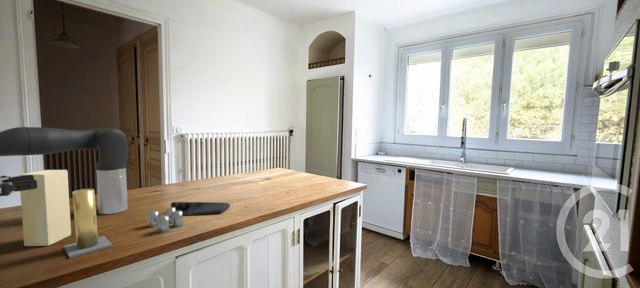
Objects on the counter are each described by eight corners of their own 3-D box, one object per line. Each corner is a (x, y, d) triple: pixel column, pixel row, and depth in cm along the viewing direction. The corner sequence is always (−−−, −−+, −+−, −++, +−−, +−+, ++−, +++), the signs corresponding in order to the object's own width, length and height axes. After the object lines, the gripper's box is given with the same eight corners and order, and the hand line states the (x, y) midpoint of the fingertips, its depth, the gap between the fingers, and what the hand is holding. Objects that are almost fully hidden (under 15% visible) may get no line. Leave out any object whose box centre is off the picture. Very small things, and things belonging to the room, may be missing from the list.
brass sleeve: (75, 245, 75) (71, 190, 74) (96, 239, 79) (92, 187, 77) (78, 250, 72) (73, 193, 71) (99, 244, 76) (95, 190, 74)
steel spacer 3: (166, 224, 93) (165, 210, 93) (166, 221, 96) (165, 208, 96) (176, 222, 95) (175, 208, 95) (176, 219, 97) (175, 206, 97)
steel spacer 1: (147, 226, 91) (146, 212, 91) (157, 223, 94) (156, 209, 94) (150, 228, 89) (149, 214, 89) (160, 225, 92) (160, 211, 92)
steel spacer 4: (171, 225, 92) (170, 212, 92) (180, 223, 94) (180, 209, 94) (174, 228, 90) (174, 214, 90) (184, 225, 92) (184, 211, 92)
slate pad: (64, 247, 75) (64, 245, 75) (104, 237, 82) (104, 235, 82) (69, 258, 69) (69, 256, 69) (112, 246, 76) (111, 244, 76)
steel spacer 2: (156, 231, 87) (156, 216, 87) (167, 228, 90) (166, 214, 89) (160, 234, 85) (160, 219, 85) (171, 231, 88) (170, 216, 87)
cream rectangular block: (47, 234, 83) (42, 169, 81) (72, 234, 84) (68, 169, 82) (20, 246, 75) (15, 174, 73) (48, 246, 76) (43, 174, 74)
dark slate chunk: (222, 217, 102) (222, 205, 102) (163, 218, 100) (163, 206, 100) (232, 205, 117) (232, 194, 117) (181, 205, 116) (181, 195, 115)
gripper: (-88, 183, 50) (36, 170, 63) (-76, 173, 59) (31, 163, 72) (-82, 221, 51) (40, 200, 63) (-71, 205, 60) (34, 190, 72)
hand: (35, 181), depth 67 cm, fingers open, 8 cm apart
